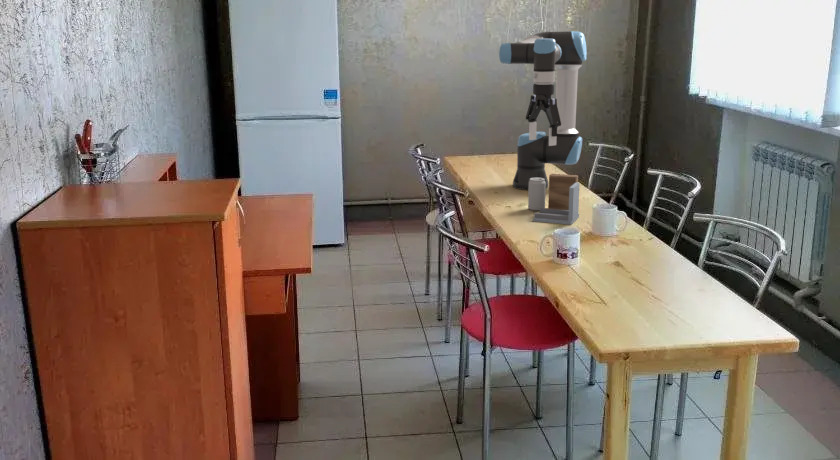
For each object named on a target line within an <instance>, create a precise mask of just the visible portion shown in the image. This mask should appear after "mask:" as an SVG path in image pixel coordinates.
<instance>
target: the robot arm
mask: <svg viewBox="0 0 840 460" xmlns="http://www.w3.org/2000/svg"><path fill="white" fill-rule="evenodd" d="M498 50H499V51H498V57H499V61H500V63H501V64H505V65H517V64H518V65H523V64H525V65H533V76H532V77H533V84H532V95H530V102H529V104H528V108H527V112H526V115H525V120H527V121H528V132H526V133H522V134H520V135H519V136H518V138H517V145H516V147H517V158H516V160H517V163H516V167H517V168H516V172H515V174H514V177H513V180H512V187H513V188H514V189H516V190H517V189H518V190H521V191H522V190H524V191H526V190H527V191H528V189H529V181H530V178H544V179H545V182H546V189H549V178H548V176H547V173H546V168H545V167H546V165H545V164H550V165H551V164H552V165H565V166H566V165H576V164H578V162H579V159H580V157H581V154H582V153H581V152H582V147H583V137H581V136H579V135H580V134H579V133H580V132H579V131H578V130H577V129H576V121H577V120H576V119H577V102H578V101H577V99H578V97H577V96H578V77H579V69H581V68H582V66H583V62H585V61H587V54H588V53H587V43H586V37H585V34H584V33H583V32H581V31H573V30H571V31H569V30H568V31H542V32H539V33H535V34H532V35H529V36H526V37H525V38H524V39H523V40H521V41H516V42H503V43H501V45H500V46H499V49H498ZM555 79H556V81H555ZM554 83H555V84H556V86H555V84H554ZM554 94H555V97H554V98H552V95H554ZM541 111H543V112H544V113H545V116H546V118H547V120H548V122H549V127H548V135H547V133H546V132H545V131H538V130H537V127H538V122H537V118H538V116H539V114H540V112H541Z"/></svg>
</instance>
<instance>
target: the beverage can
mask: <svg viewBox="0 0 840 460" xmlns="http://www.w3.org/2000/svg"><path fill="white" fill-rule="evenodd" d="M546 189H547V188H546V182H545V179H544V178H530V181H529V189H528V190H527V191H528V194H527V196H528V198H527V204H528V205H527V207H528V209H529V210H530V211H532V212H540V208H546Z"/></svg>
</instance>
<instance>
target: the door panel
mask: <svg viewBox="0 0 840 460" xmlns="http://www.w3.org/2000/svg"><path fill="white" fill-rule="evenodd" d="M578 181H579V175H577V174H576V175H575V174H563V173H562V174H561V173H551V174H549V176H548V204H547V205H548V206H547V208H549V209H560V210H569V188H570V187H571V186H572V185H573V184H574V183H579V182H578Z"/></svg>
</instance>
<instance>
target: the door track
mask: <svg viewBox="0 0 840 460" xmlns="http://www.w3.org/2000/svg"><path fill="white" fill-rule="evenodd" d="M580 183H581V182H578V183H574V184H573V185H572V186H571V187H570V188H569V210H560V209H549V208H548V207H545V208H540V211H539V212H534V214H533V216H534V217H533V218H532V222H538V223H549V224H559V225H560V224H561V225H573V224H574V222H576V220H578V219H579V217H580V214H579V211H580V210H579V209H580V208H579V206H580V205H579V204H580V203H579V202H580Z"/></svg>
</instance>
